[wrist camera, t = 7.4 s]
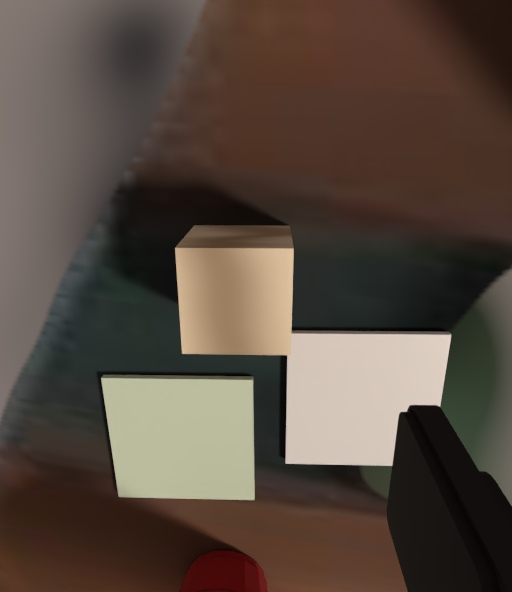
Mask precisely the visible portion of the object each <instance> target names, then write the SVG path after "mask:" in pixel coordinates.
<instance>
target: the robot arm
mask: <svg viewBox="0 0 512 592" xmlns="http://www.w3.org/2000/svg"><path fill="white" fill-rule="evenodd" d="M387 520H388V525H389V529H390V533H391V536H392V539H393V543H394V546H395V550H396V553H397V556H398V560H399V563H400V566H401V570H402V573H403V576H404V580H405V583H406V587H407V590H408V592H512V506H511V505H510V503H509V502H508V500H507V498H506V497H505V495H504V494H503V492H502V491H501V489H500V488H499V486H498V484H497V483H496V481H495V480H494V479H493V477H492V476H491V475H490V474H488V473H487V472H479V470H478V469H477V467H476V465H475V464H474V462H473V461H472V459H471V457H470V455H469V454H468V452H467V451H466V449H465V447H464V445H463V444H462V442H461V441H460V439H459V437H458V436H457V434H456V432H455V431H454V429H453V427H452V426H451V424H450V422H449V421H448V419H447V418H446V416H445V414H444V413H443V411H442V409H441V408H440V407H439V406H437V405H410V406H409V407H408V410H407V412H400V414H399V418H398V425H397V433H396V441H395V449H394V457H393V465H392V473H391V481H390V490H389V496H388V504H387Z"/></svg>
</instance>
